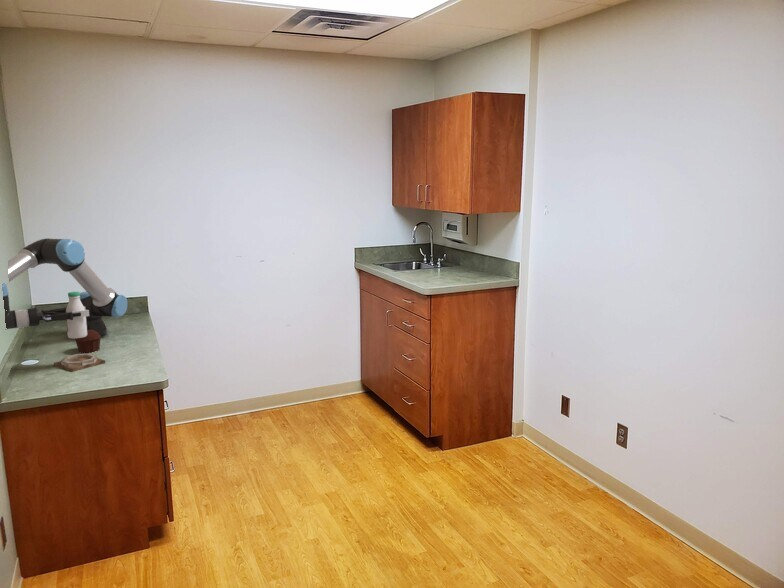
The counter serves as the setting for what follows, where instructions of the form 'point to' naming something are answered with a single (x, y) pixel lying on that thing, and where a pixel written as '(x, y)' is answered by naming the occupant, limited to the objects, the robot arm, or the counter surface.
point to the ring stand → (79, 362)
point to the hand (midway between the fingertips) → (87, 311)
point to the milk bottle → (77, 325)
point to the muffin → (89, 342)
